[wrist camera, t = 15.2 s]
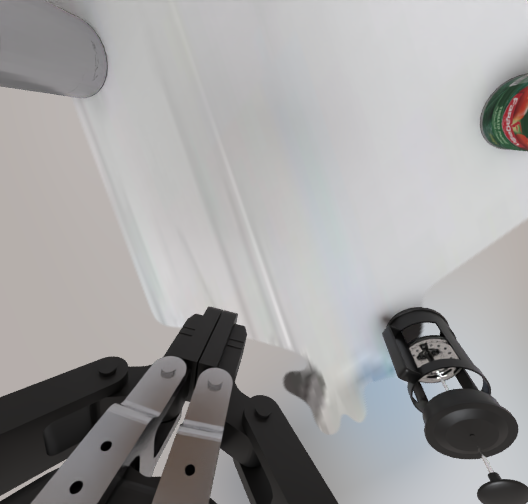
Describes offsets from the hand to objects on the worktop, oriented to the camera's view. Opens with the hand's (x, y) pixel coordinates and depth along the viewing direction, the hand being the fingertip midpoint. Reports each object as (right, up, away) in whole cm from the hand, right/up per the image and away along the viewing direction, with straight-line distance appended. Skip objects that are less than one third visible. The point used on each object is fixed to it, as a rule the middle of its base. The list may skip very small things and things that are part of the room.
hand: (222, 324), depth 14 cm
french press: (+26, -9, +32) cm, 42 cm away
